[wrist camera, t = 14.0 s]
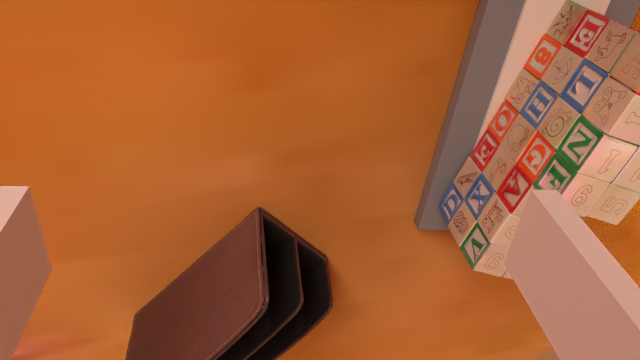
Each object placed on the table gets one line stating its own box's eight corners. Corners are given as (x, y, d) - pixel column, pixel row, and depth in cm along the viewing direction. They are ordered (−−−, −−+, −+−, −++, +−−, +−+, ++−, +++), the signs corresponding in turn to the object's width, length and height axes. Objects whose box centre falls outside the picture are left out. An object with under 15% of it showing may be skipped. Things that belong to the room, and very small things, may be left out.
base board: (498, -61, 40) (507, -57, 38) (646, -39, 42) (661, -34, 41) (414, 220, 54) (418, 231, 53) (528, 225, 56) (536, 236, 55)
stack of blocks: (488, 220, 53) (546, 312, 43) (435, 205, 51) (483, 297, 41) (625, 23, 43) (744, 80, 33) (566, -5, 41) (672, 46, 31)
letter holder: (133, 313, 57) (104, 435, 45) (258, 203, 51) (262, 312, 39) (205, 351, 62) (195, 471, 50) (327, 254, 55) (348, 365, 44)
